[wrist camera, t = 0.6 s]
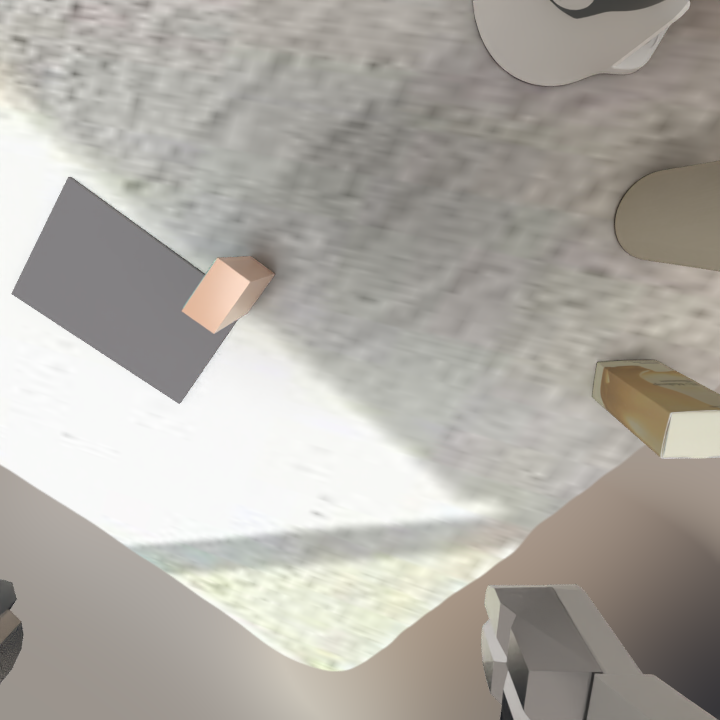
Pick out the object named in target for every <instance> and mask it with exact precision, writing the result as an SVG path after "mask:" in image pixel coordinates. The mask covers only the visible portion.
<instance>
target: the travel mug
mask: <svg viewBox="0 0 720 720" xmlns="http://www.w3.org/2000/svg"><path fill="white" fill-rule="evenodd" d="M615 230H616V235H617V238H618V241H619V243H620V245H621V246H622V247H623V249H624V250H625V251H626V252H627V253H629V254H630V255H632V256H634V257H636V258H639V259H643V260H649V261H656V262H662V263H669V264H675V265H682V266H688V267H695V268H701V269H708V270H714V271H720V161H715V162H709V163H703V164H697V165H691V166H685V167H679V168H673V169H667V170H661V171H657V172H654V173H651V174H649V175H647V176H645V177H643V178H642V179H640V180H639V181H638V182H636V183H635V184H634V185H633V186H632V187H631V188H630V189H629V190H628V192H627V193H626V194H625V196H624V197H623V199H622V201H621V203H620V205H619V207H618V210H617V214H616V219H615Z"/></svg>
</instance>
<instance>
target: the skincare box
mask: <svg viewBox="0 0 720 720" xmlns="http://www.w3.org/2000/svg"><path fill="white" fill-rule="evenodd" d="M592 397H593V399H595V400H596V401H597V402H598V403H599V404H600V405H601V406H602V407H604V408H605V409H606V410H607V411H608V412H609V413H610V414H612V415H613V416H614V417H615V418H616V419H617V420H618V421H619V422H621V423H622V424H623V425H624V426H625V427H626V428H627V429H629V430H630V431H631V432H632V433H633V434H634V435H635V436H637V437H638V438H639V439H640V440H641V441H642V442H643V443H645V444H646V445H647V446H648V447H649V448H650V449H651V450H653V451H654V452H655V453H656V454H657V455H658V456H659V457H661V458H663V459H667V458H713V457H715V458H717V457H720V394H718V393H716V392H714V391H712V390H710V389H708V388H706V387H705V386H703V385H701V384H699V383H697V382H695V381H694V380H692V379H690V378H688V377H686V376H684V375H682V374H680V373H679V372H677V371H675V370H673V369H671V368H669V367H668V366H666V365H664V364H662V363H660V362H658V361H656V360H625V361H608V362H598V363H597V367H596V372H595V379H594V386H593V394H592Z"/></svg>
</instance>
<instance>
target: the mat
mask: <svg viewBox="0 0 720 720" xmlns="http://www.w3.org/2000/svg"><path fill="white" fill-rule="evenodd" d="M204 276H205V274H204V273H202V272H201V271H200V270H198V269H197V268H196V267H194V266H193V265H191V264H190V263H189V262H187V261H186V260H185V259H183V258H182V257H180V256H179V255H178V254H176V253H175V252H174V251H172V250H171V249H169V248H168V247H167V246H165V245H164V244H162V243H161V242H160V241H158V240H157V239H156V238H154V237H153V236H151V235H150V234H149V233H147V232H146V231H145V230H143V229H142V228H140V227H139V226H138V225H136V224H135V223H134V222H132V221H131V220H129V219H128V218H127V217H125V216H124V215H123V214H121V213H120V212H118V211H117V210H116V209H114V208H113V207H112V206H110V205H109V204H107V203H106V202H105V201H103V200H102V199H101V198H99V197H98V196H96V195H95V194H94V193H92V192H91V191H90V190H88V189H87V188H85V187H84V186H83V185H81V184H80V183H78V182H77V181H76V180H74V179H73V178H72V177H68V179H67V181H66V183H65V185H64V187H63V189H62V191H61V193H60V195H59V197H58V199H57V201H56V203H55V205H54V207H53V210H52V212H51V214H50V216H49V218H48V220H47V222H46V224H45V226H44V228H43V230H42V232H41V234H40V236H39V238H38V240H37V242H36V244H35V247H34V249H33V251H32V253H31V255H30V257H29V259H28V261H27V263H26V265H25V267H24V269H23V271H22V273H21V275H20V277H19V279H18V281H17V284H16V286H15V288H14V290H13V292H12V295H14V296H15V297H17V298H18V299H20V300H22V301H23V302H25V303H26V304H28V305H29V306H31V307H32V308H34V309H35V310H37V311H38V312H40V313H41V314H43V315H44V316H46V317H47V318H49V319H51V320H52V321H54V322H55V323H57V324H58V325H60V326H61V327H63V328H64V329H66V330H67V331H69V332H70V333H72V334H73V335H75V336H76V337H78V338H80V339H81V340H83V341H84V342H86V343H87V344H89V345H90V346H92V347H93V348H95V349H96V350H98V351H99V352H101V353H102V354H104V355H105V356H107V357H108V358H110V359H112V360H113V361H115V362H116V363H118V364H119V365H121V366H122V367H124V368H125V369H127V370H128V371H130V372H131V373H133V374H134V375H136V376H137V377H139V378H141V379H142V380H144V381H145V382H147V383H148V384H150V385H151V386H153V387H154V388H156V389H157V390H159V391H160V392H162V393H163V394H165V395H166V396H168V397H170V398H171V399H173V400H174V401H176V402H177V403H179V404H180V403H181V401H182V400H183V398H184V397H185V395H186V394H187V393H188V391H189V390H190V388H191V387H192V385H193V384H194V382H195V381H196V379H197V378H198V377H199V375H200V374H201V372H202V371H203V369H204V368H205V366H206V365H207V364H208V362H209V361H210V359H211V358H212V356H213V355H214V353H215V352H216V350H217V349H218V348H219V346H220V345H221V343H222V342H223V340H224V339H225V337H226V336H227V334H228V333H229V332H230V330H231V329H232V327H233V326H234V324H235V323H236V321H237V320H238V319H237V320H236V321H234V322H233V323H231V324H229V325H228V326H226V327H224V328H223V329H221V330H219V331H218V332H216V333H215V334H213V333H212V332H211V331H209V330H208V329H206V328H205V327H203V326H202V325H201V324H199V323H198V322H196V321H195V320H193V319H192V318H191V317H189V316H188V315H186V314H185V313H184V312H182V310H183V307H184V305H185V304H186V302H187V301H188V299H189V298H190V296H191V295H192V294H193V292H194V291H195V289H196V288H197V286H198V285H199V283H200V282H201V280H202V279H203V277H204Z"/></svg>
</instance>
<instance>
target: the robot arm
mask: <svg viewBox="0 0 720 720" xmlns="http://www.w3.org/2000/svg"><path fill="white" fill-rule="evenodd" d="M473 7H474V14H475V19H476V23H477V27H478V30H479V33H480V35H481V38H482V40H483V42H484V44H485V46H486V48H487V50H488V51H489V53H490V54H491V56H492V57H493V58H494V59H495V61H496V62H497V63H498V64H499V65H500V66H501V67H502V68H503V69H504V70H506V71H507V72H508V73H510V74H511V75H513V76H514V77H516V78H518V79H520V80H522V81H525V82H528V83H531V84H535V85H541V86H559V85H565V84H569V83H573V82H576V81H579V80H582V79H584V78H587V77H589V76H592V75H595V74H600V73H607V74H631V73H634V72H636V71H637V70H639V69H640V68H641V67H642V66H644V65H645V64H646V63H647V62H648V60H649V59H650V57H651V56H652V54H653V53H654V51H655V49H656V48H657V46H658V44H659V43H660V41H661V40H662V38H663V36H664V35H665V33H666V31H667V30H668V28H669V27H670V25H671V24H672V23H674V22H675V21H676V20H678V19H679V18H680V17H681V16H682V15H683V14H684V13H685V12H686V11H687V10H688V9H689V7H690V0H473ZM16 599H17V598H16V594H15V591H14V587H13V584H12V582H8V581H6V580H2V579H0V683H1V682H2V681H3V680H4V678H5V677H6V676H7V675H8V674H9V672H10V671H11V670H12V668H13V666H14V664H15V662H16V659H17V657H18V655H19V653H20V651H21V649H22V641H23V628H22V623H21V621H20V620H19V619H18V618H17V617H16V616H15V615H14V614H13V613H12V612H11V611H10V609H11V608H12V606H13V604H14V603H15V601H16ZM485 608H486V610H487V613H488V616H489V620H488V621H487V622H486V623H485V624H484V625H483V627H482V639H481V647H482V659H483V666H484V671H485V676H486V680H487V683H488V686H489V690H490V693H491V694H492V695H493V697H495V699H496V700H497V701H498V702H499V703H500V704H501V705H502V707H501V716H500V720H717V719H716V718H714V717H713V716H712V715H710V714H709V713H707V712H706V711H704V710H703V709H702V708H700V707H699V706H697V705H696V704H694V703H693V702H692V701H690V700H689V699H687V698H686V697H684V696H683V695H681V694H680V693H678V692H677V691H676V690H674V689H673V688H672V687H670V686H669V685H667V684H666V683H664V682H663V681H662V680H660V679H659V678H657V677H656V676H655V675H648V674H642V672H641V671H640V669H639V668H638V666H637V665H636V664H635V662H634V661H633V659H632V658H631V656H630V655H629V654H628V652H627V651H626V649H625V648H624V646H623V645H622V644H621V642H620V641H619V639H618V638H617V636H616V635H615V634H614V632H613V631H612V629H611V628H610V626H609V625H608V624H607V622H606V621H605V619H604V618H603V616H602V615H601V614H600V612H599V611H598V609H597V608H596V606H595V605H594V604H593V602H592V601H591V599H590V598H589V596H588V595H587V593H586V592H585V591H584V589H583V588H581V587H580V586H578V585H577V584H575V585H574V584H573V585H547V586H545V585H489V586H488V588H487V591H486V596H485Z"/></svg>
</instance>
